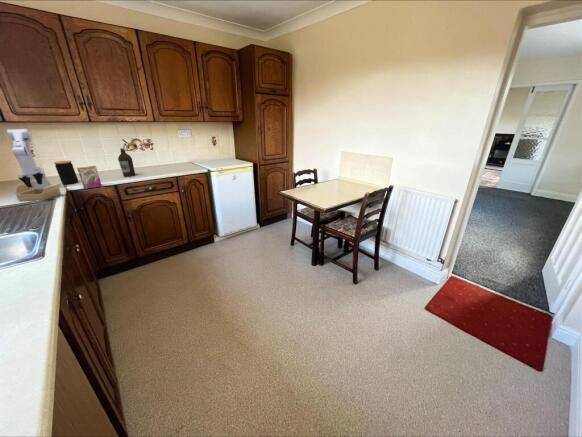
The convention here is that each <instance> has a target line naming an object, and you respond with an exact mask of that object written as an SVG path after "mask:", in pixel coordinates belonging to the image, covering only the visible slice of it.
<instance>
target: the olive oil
mask: <svg viewBox="0 0 582 437" xmlns="http://www.w3.org/2000/svg"><path fill="white" fill-rule="evenodd" d="M119 149H120V154H119V156H117V158H118V159H117V160H118V163H119V166H120V168H121V169H120V170H121V172H122V175H123V178H132V177H135V176H136V173H135V172H136V171H135V167H134V163H133V162H134V161H133V158H132V156H131V155H130V154H128V153H127V152H126V150H125V148H123V147H122V148H119Z"/></svg>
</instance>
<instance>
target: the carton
mask: <svg viewBox="0 0 582 437" xmlns="http://www.w3.org/2000/svg"><path fill="white" fill-rule="evenodd" d="M43 190H44V189H30V190H27V191H24V192H20V193H17V194H16V193H15V195H16V198H17V200H18V202H37V201H36V200H44V201H47V200H50V199H52V198H55V197H57V196H58V197H59V196H60V194H61V195H62V193H61V191H60V187H59V188H58V189H55V190H51V191H48V192H45V193H42V192H43ZM49 198H50V199H49ZM46 199H47V200H46Z"/></svg>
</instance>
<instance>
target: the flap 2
mask: <svg viewBox="0 0 582 437" xmlns="http://www.w3.org/2000/svg"><path fill="white" fill-rule="evenodd" d="M62 183H63V182H61V181H60V182H59V183H55V184H51V186H48V187H45V189H44V190H43V192H42V193H45V192H48V191H51V190H55V189H58V188H59V189H60V187H61V185H63V184H62Z"/></svg>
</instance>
